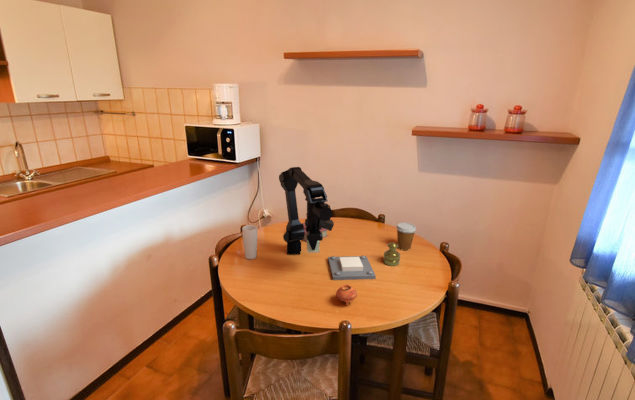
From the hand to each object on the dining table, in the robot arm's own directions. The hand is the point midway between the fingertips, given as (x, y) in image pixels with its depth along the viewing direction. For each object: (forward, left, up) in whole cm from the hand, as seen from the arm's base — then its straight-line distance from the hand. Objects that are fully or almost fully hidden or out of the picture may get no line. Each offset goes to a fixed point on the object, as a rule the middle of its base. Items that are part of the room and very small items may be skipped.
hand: (313, 247), depth 149 cm
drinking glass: (-28, +13, -11) cm, 33 cm away
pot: (+11, -24, -11) cm, 29 cm away
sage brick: (0, 0, -1) cm, 1 cm away
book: (+1, +38, -12) cm, 40 cm away
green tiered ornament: (+37, +5, -11) cm, 39 cm away
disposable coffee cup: (+48, +20, -11) cm, 53 cm away
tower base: (+17, 0, -11) cm, 20 cm away
